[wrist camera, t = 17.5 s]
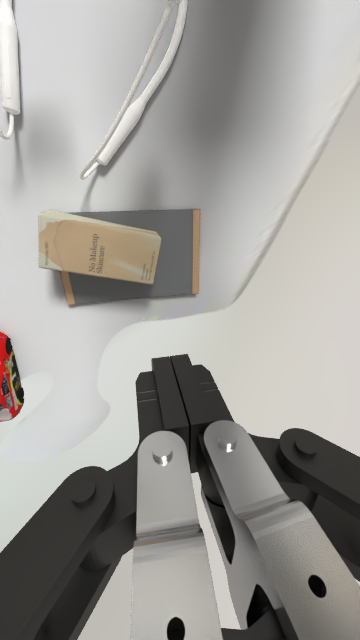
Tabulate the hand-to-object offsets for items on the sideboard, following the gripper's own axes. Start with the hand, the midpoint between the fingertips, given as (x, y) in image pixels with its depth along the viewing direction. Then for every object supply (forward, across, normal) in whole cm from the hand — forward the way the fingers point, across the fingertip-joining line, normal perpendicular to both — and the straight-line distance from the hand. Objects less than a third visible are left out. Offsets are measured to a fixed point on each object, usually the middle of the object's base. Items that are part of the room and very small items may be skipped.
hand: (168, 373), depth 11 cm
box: (+19, -2, 0) cm, 19 cm away
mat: (+22, +1, 0) cm, 22 cm away
